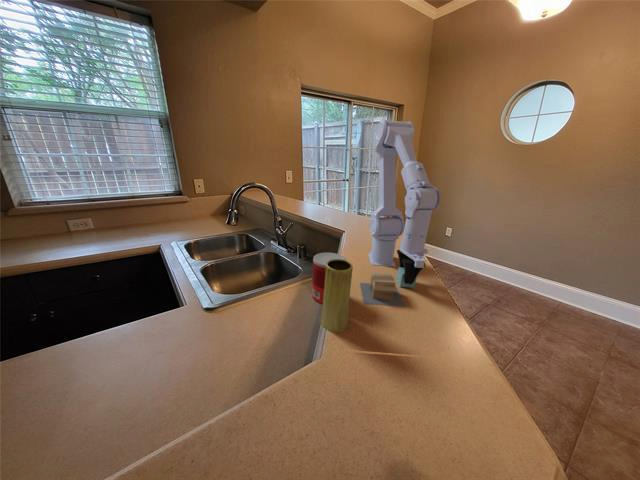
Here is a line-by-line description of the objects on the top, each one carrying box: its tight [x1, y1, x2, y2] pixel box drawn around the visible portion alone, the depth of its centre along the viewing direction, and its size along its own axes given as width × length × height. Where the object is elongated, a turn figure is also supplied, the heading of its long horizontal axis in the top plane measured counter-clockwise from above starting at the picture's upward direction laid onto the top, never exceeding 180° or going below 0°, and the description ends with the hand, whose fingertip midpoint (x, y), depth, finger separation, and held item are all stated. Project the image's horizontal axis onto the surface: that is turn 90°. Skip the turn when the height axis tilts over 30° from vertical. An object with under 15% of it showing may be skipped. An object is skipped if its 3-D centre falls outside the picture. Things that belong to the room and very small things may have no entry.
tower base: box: [370, 281, 394, 300], centre depth 65 cm, size 5×5×2 cm
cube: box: [396, 266, 418, 289], centre depth 70 cm, size 4×4×4 cm
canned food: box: [311, 252, 347, 306], centre depth 61 cm, size 8×8×11 cm
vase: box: [320, 259, 354, 333], centre depth 51 cm, size 6×6×14 cm
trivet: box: [359, 282, 406, 308], centre depth 65 cm, size 10×10×1 cm
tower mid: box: [370, 271, 396, 291], centre depth 64 cm, size 5×5×2 cm
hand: (406, 279), depth 70 cm, fingers closed on cube, 4 cm apart
